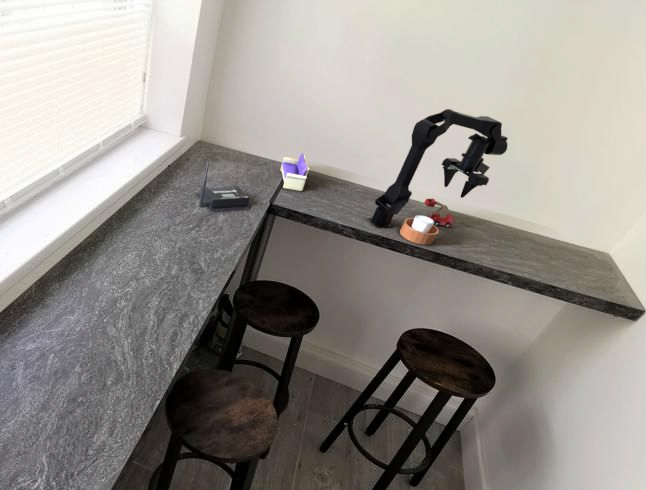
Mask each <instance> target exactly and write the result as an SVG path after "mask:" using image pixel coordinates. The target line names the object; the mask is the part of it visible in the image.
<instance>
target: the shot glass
mask: <svg viewBox="0 0 646 490" xmlns="http://www.w3.org/2000/svg"><path fill="white" fill-rule="evenodd" d="M414 218H415V219H414V222H413V224H412V227H411V228H413V229H414V230H417V231H419V232H423V233H428V232H429V230H430V229H431V227H432V226H433V225H435V224H434V221H433V220H432V219H431V218H429V217H427V215H424V214H423V215H421V214H418V215H415V217H414Z"/></svg>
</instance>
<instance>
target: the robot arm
mask: <svg viewBox="0 0 646 490" xmlns="http://www.w3.org/2000/svg"><path fill="white" fill-rule="evenodd" d="M442 122H443V123H442ZM440 123H442V124H440ZM438 124H440V125H438ZM453 125H455V126H458V127H461V128H462V127H463V128H466V129H471V130H473V131H476V133H474V134H472V135H469V136H468V137H467V138H468V140H471V142H470V143H469V145H468V147H467V149H466V150H465V152H462V153H461V157H462V158H461V160H459V159H458V158H454V157H453V158H452V157H446V158H444V159H443V161H442V162H441V166H442V169H443V177H444V180H443V181H444V183H443V184H444V185H443V187H444V188H448V186H449V185H450V183H451V182H452V180H453V178H454V176H455V174H457V173H458V172H460V173H462V174H463V175H465V176H466V177H467V180H465V182H464V185H463V188H462V191H461V193H460V198H461V199H462V198H465V196H467V195H468V194H469V193H470V192H471V191H472V190H473V189H475V188H478V187H482V186H487V185H488V183H489V181H490V178H489V177H488V176H487V175H485V174H486V173H487V172H488V171H489V169H490V168H491V167H490V166H489V165H487V164H485V163H484V158H483V156H484V155H488V156H501V155H504V154H505V153H506V151H507V150H508V144H509V143H508V139H509V138H508V137H507V136H506V135H502V128H503V127H502V125H503V123H502V122H501V121H498V120H496V119H495V118H492V117H490V116H486V115H479V116H473V115H469V114H466V113H462V112H459V111H456V110H453V109H451V108H447V109H444V110H442V111H441V112H438V113H435V114H430V115H428V116H427V117H425V118H423V119H420V120H419V121H417V122H416V123H415V124H414V126H413V130H412V133H411V146H410V148H409V150H408V153H407V155H406V157H405V159H404V162H403V164H402V166H401V168H400V171H399V173H398V175H397V178H396V179H395V181H394V182H393V183H392V184H391V185H389V186H388V187H387V189H386V191H385V192H384V193H383V194H381V195H380V196H379V197H377V198H376V199H375V201H374V205H376V206H377V207H376V209H375V211H374V213H373V215H372V217H369V218H368V220H369V221H370V222H371V223H372V224H373V225H374V226H375V227H376V228H392V225H391V222H392V220H393V218H394V216H396V215H398V214H399V213H400V212H401V210H403V208H405V206H406V204H409V200H410V198H411V196H412V195H413V192H412V191H411V190H410V187H409V186H410V185H411V183H412V180H413V178H414V176H415V174H416V171H417V169H418V168H419V165H420V163H421V161H422V159H423V157H424V155H425V152H426V151H427V149H429V148H430V147H431V146H433V145H434V143H436V140H437V139H438V138H439V137H440V136H442V135H444V134H446V132H447V131H448V130H449V128H450V127H451V126H453Z"/></svg>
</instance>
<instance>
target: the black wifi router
mask: <svg viewBox="0 0 646 490" xmlns="http://www.w3.org/2000/svg"><path fill="white" fill-rule="evenodd" d="M209 166H210V163H209V162H207V164H206V169H205V175H204V178H203V181H202V185H201V186H202V187H201V188H200V191H199V192H200V193H199V194H198V197H199V202H198V206H199V207H202V206H208V208H209V209H210V210H211V211H212V212H227V211H241V210H250V207H249V203H250V200H251V197H250V196H249V195H248V194H247V193H246V192H245V191H244V190H243V189H241V188H240V187H239V186H238V185H233V186H227V187H226V186H222V187H221V186H220V187H217V186H216V187H207V178H208V171H209V168H210V167H209Z"/></svg>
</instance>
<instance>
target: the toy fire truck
mask: <svg viewBox="0 0 646 490" xmlns="http://www.w3.org/2000/svg"><path fill="white" fill-rule="evenodd" d="M424 205H425V206H426V207H429V208H434V207H435V206H438V207H439V208H438V209H436V210H435V211H433V212H432V214H431V215H426V217H429V218H431V219H432V220H433V221H434V224H433V225H434V226H438V225H439V226H443V227H444V226H445V227H446V228H449V227H452V226H453V224H454V222H455V216H454V215H453V214H450V213H447V214H446V216H445V217H442V216H441V215H440V214H442V213H444V212H446V211H448V210H449V207H448V205H447V204H444V203H441V202H440V201H437V200H435V198H426V199H425V200H424Z"/></svg>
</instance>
